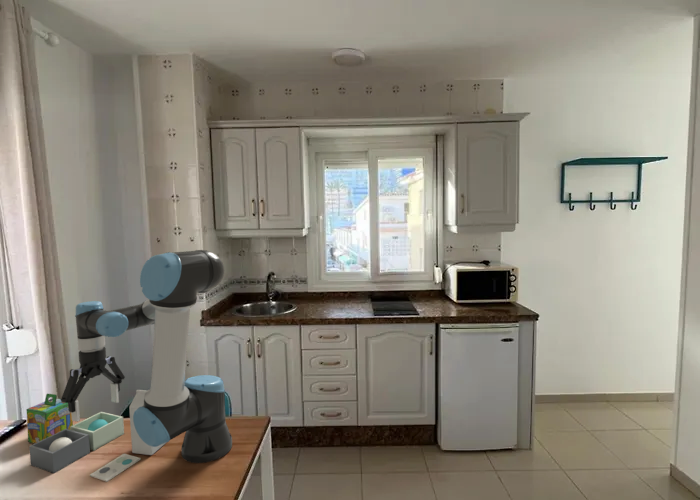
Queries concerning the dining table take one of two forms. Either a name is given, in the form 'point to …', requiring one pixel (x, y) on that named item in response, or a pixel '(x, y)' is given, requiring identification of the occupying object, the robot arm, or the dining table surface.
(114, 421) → the pale green tray
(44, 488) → the dining table surface
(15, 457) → the dining table surface
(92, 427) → the ball teal
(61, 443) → the ball white
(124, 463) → the card
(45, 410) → the chalk box
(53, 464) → the grey storage bin
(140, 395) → the milk carton
